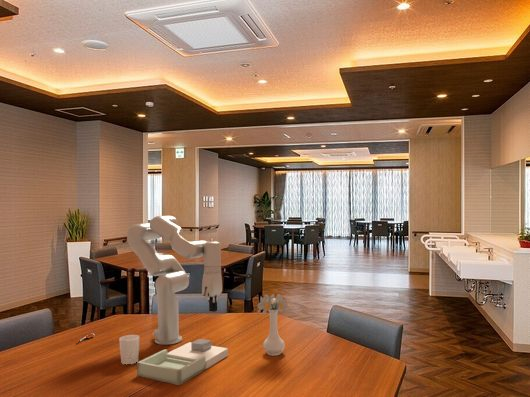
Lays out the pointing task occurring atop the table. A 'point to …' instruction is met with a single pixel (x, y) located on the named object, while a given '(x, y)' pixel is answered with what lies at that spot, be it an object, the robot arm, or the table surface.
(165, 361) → the box
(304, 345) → the table surface
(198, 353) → the plate
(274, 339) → the flower vase
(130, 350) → the white cup
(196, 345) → the grey square block
